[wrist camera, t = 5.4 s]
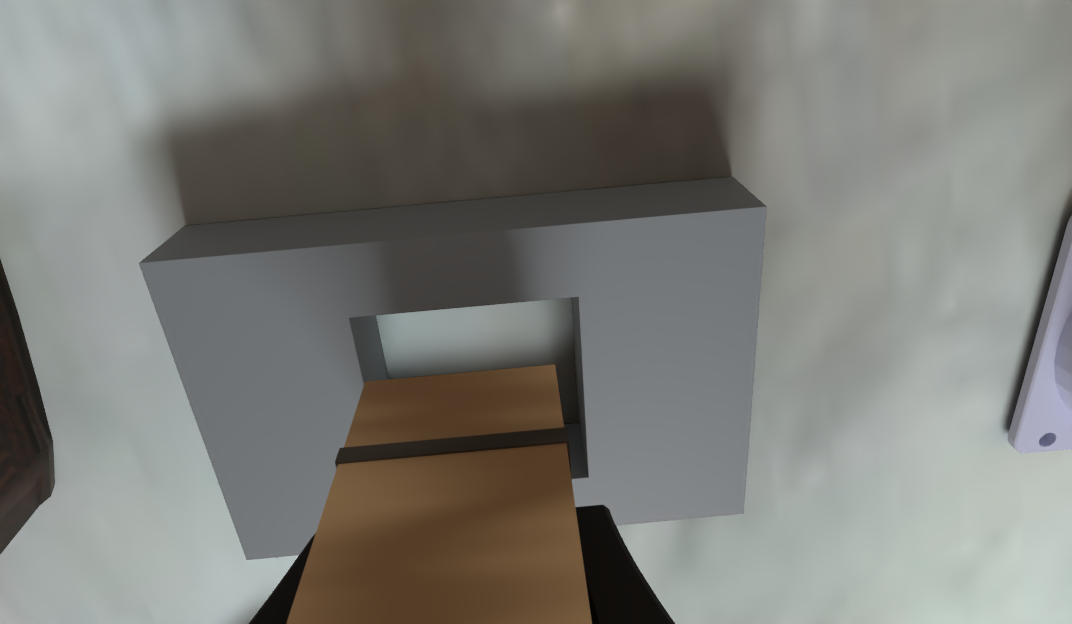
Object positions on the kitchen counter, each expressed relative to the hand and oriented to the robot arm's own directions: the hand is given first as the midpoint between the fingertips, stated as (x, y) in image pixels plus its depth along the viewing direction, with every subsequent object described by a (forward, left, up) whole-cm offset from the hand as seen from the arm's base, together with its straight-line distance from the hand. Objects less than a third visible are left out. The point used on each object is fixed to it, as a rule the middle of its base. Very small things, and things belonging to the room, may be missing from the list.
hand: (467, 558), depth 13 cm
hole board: (0, 0, -8) cm, 8 cm away
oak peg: (0, 0, -3) cm, 3 cm away
